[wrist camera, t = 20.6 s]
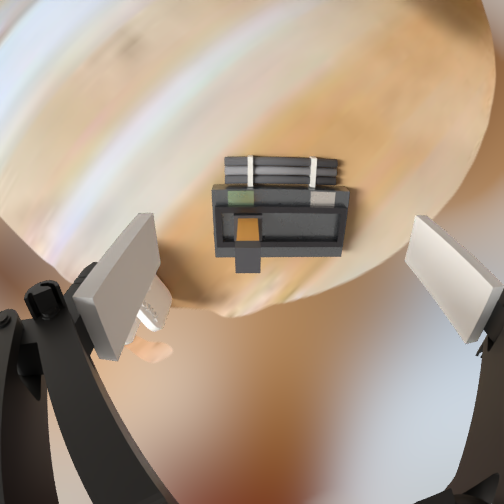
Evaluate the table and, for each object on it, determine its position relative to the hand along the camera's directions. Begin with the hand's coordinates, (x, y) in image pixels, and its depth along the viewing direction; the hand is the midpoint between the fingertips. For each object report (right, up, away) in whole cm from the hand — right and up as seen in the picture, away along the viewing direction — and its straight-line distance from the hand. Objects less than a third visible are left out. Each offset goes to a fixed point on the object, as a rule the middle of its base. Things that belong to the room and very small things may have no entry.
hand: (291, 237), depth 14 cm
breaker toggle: (-3, +4, +34) cm, 34 cm away
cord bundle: (+3, +13, +33) cm, 35 cm away
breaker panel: (+3, +5, +37) cm, 37 cm away
